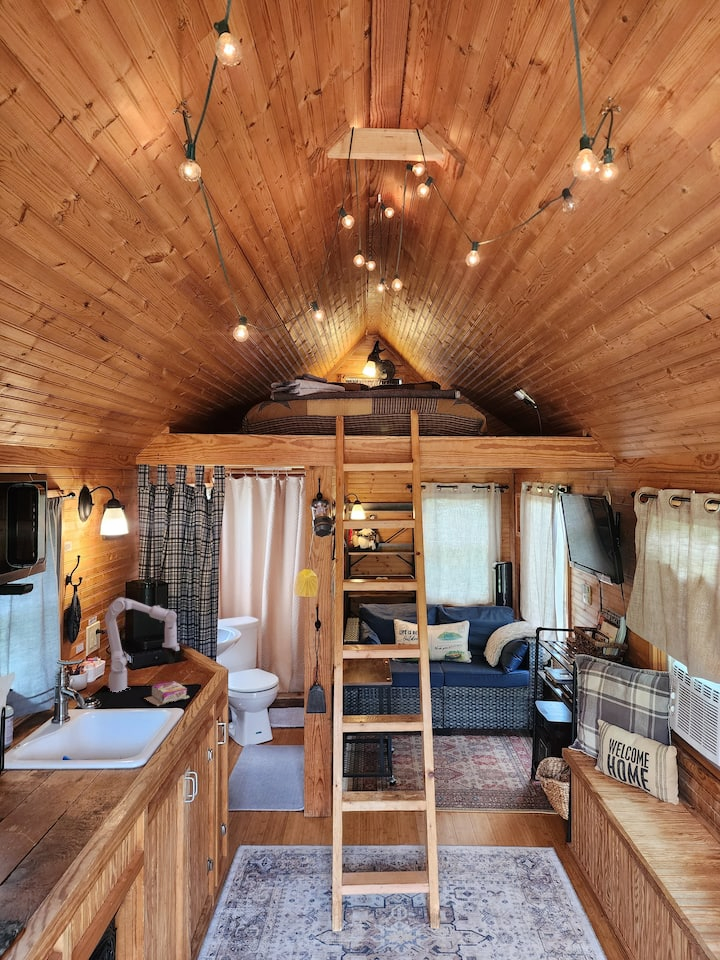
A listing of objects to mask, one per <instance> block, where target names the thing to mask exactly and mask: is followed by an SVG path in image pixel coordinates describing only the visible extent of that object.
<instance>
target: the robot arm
mask: <svg viewBox="0 0 720 960" xmlns="http://www.w3.org/2000/svg"><path fill="white" fill-rule="evenodd" d="M124 610H125V611H128V610H136V611H139V612H143V613H146V614H149V617H150V618H151V619H152V618H153V619H155V620H158V621H164V622H165V623H164V642H162V648H165V649H164V650H163V652H164V654H165V656H166V660H167V664H170V665H171V664H174V663H175V659H176V654H177V653H178V651H180V643H178V640H177V638H178V636H177V635H178V634H177V633H178V632H177V631H178V626H177V618H178V615H177V613H176V611H174V610H170V609H169V608H167V609H166V608H163V607H161V605H159V604H158V605H153V606H149V605H147V604H144V603H141V602H138V601H136V600H134V599H130V598H127V597H123V596H120V597H117V598H116V599H115V600H113V601H112V602H111V603H110V605H109V606H108V609H107V610H106V613H105V615H104V622H105V626H106V632H107V637H108V642H109V647H110V653H111V656H110V657H111V659H110V660H111V662H110V669H111V671H110V672H109V675H108V688H110V691H109V692H111V691H112V692H111V693H113V692H116V693H120V692H123V691H122V690H125V689H126V688H130V687H128V669H127V667H126V666H127V664H128V658H127V656H125V653H124V651H123V649H122V643H121V639H120V633H119V627H118V623H117V617H118V616H119V614H120V613H122V611H124ZM119 691H120V692H119ZM125 691H126V690H125Z"/></svg>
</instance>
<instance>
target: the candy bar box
mask: <svg viewBox="0 0 720 960" xmlns="http://www.w3.org/2000/svg"><path fill="white" fill-rule="evenodd" d="M187 692H188V688H187V687H185V686H184V685H182V684H181V683H180V682H177V681H176V680H173V681H169V682H163V683H162V682H161V683H158V684H152V685H151V696H154V697H155V698H156V699H157V700H159V701H160V702H161V703H167V704H169V703H168V702H171V703H174V702H178V701H183V700H186V699H187V700H188V698H187V696H188V695H187V694H188V693H187ZM173 701H174V702H173Z"/></svg>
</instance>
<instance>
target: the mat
mask: <svg viewBox="0 0 720 960" xmlns="http://www.w3.org/2000/svg"><path fill="white" fill-rule="evenodd" d="M189 698H190V695H187V699H189ZM144 699H146V700H147V702H148V701H149V703H151V704H153V705H155V706H156V707H159V706H162V705H167V704H170V703H169V702H168V703H167V704H166V703H161V702H160V701H159V700H157V699H156V698H155V697H154V696H152V695H151V696H147V697H144V698H143V700H144ZM146 700H145V701H146Z"/></svg>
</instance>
